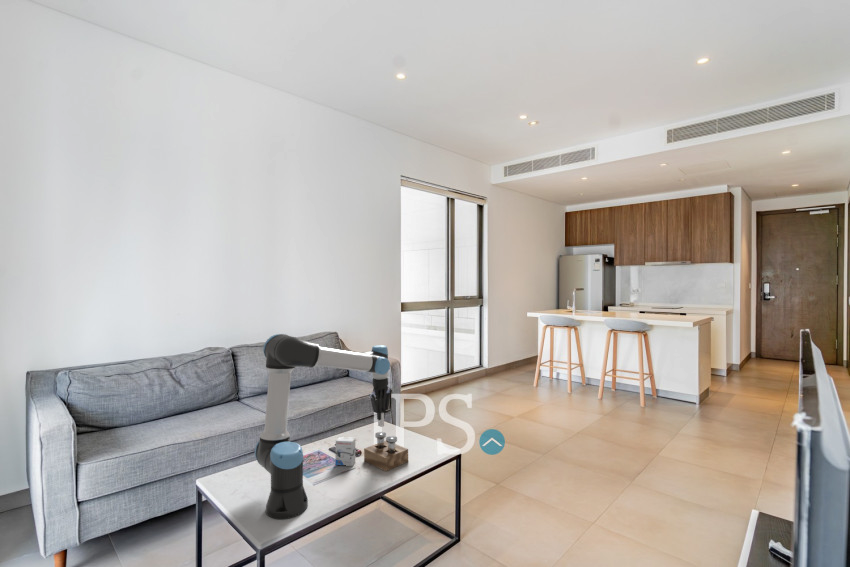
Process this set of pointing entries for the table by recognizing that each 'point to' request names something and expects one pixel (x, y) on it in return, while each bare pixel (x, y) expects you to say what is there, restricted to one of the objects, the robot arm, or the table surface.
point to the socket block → (385, 456)
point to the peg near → (391, 444)
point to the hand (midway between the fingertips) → (381, 425)
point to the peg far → (380, 439)
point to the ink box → (345, 451)
